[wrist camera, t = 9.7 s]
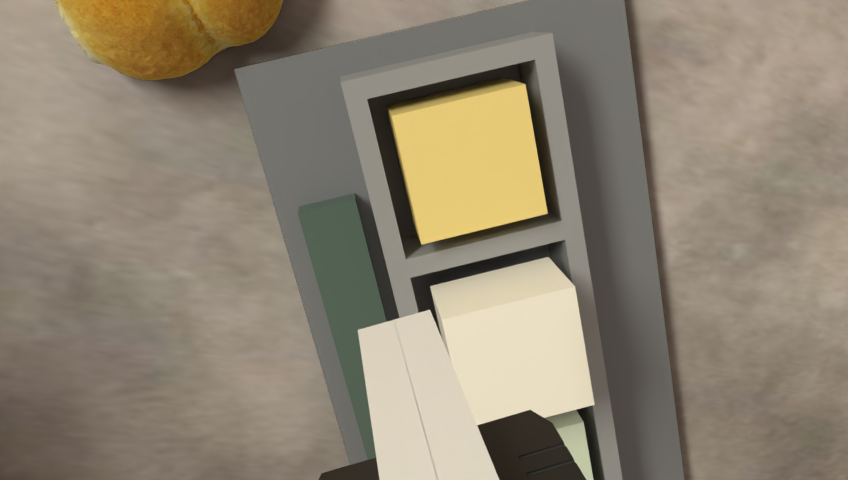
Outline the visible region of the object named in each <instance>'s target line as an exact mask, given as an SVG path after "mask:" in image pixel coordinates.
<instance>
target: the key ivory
mask: <svg viewBox="0 0 848 480" xmlns="http://www.w3.org/2000/svg"><path fill="white" fill-rule="evenodd" d="M430 289H431V293H432V298H433V302H434V306H435V311H436V315H437V319H438V323H439V328H440V332H441V336H442V340H443V343H444V345H445V348H446V350H447V353H448V355H449V358H450V360H451V362H452V365H453V367H454V370H455V372H456V375H457V377H458V380H459V382H460V385H461V387H462V389H463V392H464V394H465V397H466V399H467V402H468V404H469V407H470V409H471V412H472V414H473V416H474V419H475V421H476V424H477V425H480V424H483V423H487V422H490V421H494V420H497V419H500V418H504V417H507V416H511V415H514V414H517V413H521V412H524V411H528V410H532V411H533V412H535V413H537V414H538V415H540V416H542V417H543V418H546V417H549V416H553V415H557V414H561V413H565V412H569V411H573V410H576V409H580V408H584V407H588V406H592V405H595V404H594V398H593V392H592V386H591V380H590V374H589V368H588V361H587V355H586V349H585V343H584V337H583V331H582V325H581V319H580V313H579V307H578V301H577V295H576V289H575V286H574V285H573V284H572V282H571V281H570V280H569V279H568V278H567V277H566V276H565V275H564V274H563V273H562V271H561V270H560V269H559V268H558V267H557V266H556V265H555V264H554V263H553V261H552V260H551V259H550V258H549V257H546V258H542V259H538V260H534V261H530V262H525V263H521V264H517V265H513V266H509V267H505V268H501V269H497V270H493V271H489V272H485V273H481V274H477V275H473V276H469V277H465V278H461V279H457V280H453V281H449V282H445V283H441V284H437V285H433V286H430Z"/></svg>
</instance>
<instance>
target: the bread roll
mask: <svg viewBox="0 0 848 480" xmlns="http://www.w3.org/2000/svg"><path fill="white" fill-rule="evenodd" d="M53 1H54V2H55V4H56V8H57V10H58V11H59V13H60V14H61V16H62V18H63V20H64V21H65V23H66V24H67V26H68V27H69V29H70V32H71V33H72V35H73V37H74V39H75V40H76V42H77V44H78V45H79V46H80V47H81V49H82V50H83V51H84V52H85V54H86V56H87V57H88V58H89V59H90V60H91V61H92V62H95V63H97V64H103V65H106V66H109V67H111V68H113V69H115V70H117V71H118V72H120V73H122V74H125V75H128V76H131V77H134V78H137V79H143V80H159V79H168V78H175V77H180V76H184V75H186V74H188V73H190V72H192V71H194V70H196V69H198V68H200V67H201V66H202V65H204V64H205V63H206V62H208V61H209V60H210V59H211V58H212V57H213V56H214V55H215V54H216V53H218V52H220V51H222V50H223V49H226V48H228V47H230V46H240V45H244V44H248V43H251V42H254V41H256V40H258V39H259V38H261V37H262V36H263V35H265V34H266V32H267V31H268V30H269V29H270V28H271V27H272V25H273V24H274V23H275V21H276V19H277V17H278V15H279V12H280V9H281V6H282V3H283V0H53Z"/></svg>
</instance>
